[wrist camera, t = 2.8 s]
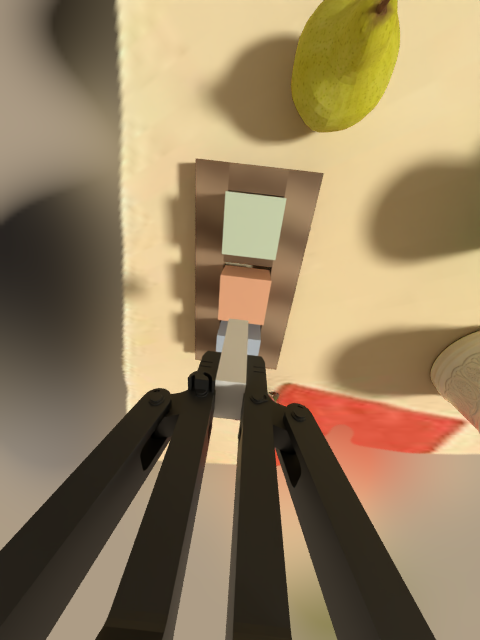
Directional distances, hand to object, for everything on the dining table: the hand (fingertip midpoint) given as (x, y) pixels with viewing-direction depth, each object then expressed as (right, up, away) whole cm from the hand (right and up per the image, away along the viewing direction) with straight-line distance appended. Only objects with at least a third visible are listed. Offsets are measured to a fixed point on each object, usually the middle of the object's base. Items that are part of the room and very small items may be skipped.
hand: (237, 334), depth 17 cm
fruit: (+8, +21, +2) cm, 23 cm away
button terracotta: (+1, +5, +9) cm, 10 cm away
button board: (+1, +6, +11) cm, 12 cm away
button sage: (+2, +11, +5) cm, 12 cm away
